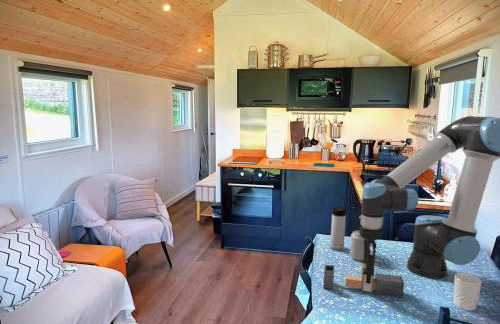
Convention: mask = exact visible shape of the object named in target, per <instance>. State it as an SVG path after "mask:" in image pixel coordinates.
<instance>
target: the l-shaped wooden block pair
mask: <svg viewBox="0 0 500 324" xmlns="http://www.w3.org/2000/svg"><path fill="white" fill-rule="evenodd" d="M365 267H366V264H365V263H363V262H362V263H361V273H360V276H357V275H356V276H355V275H349V274H348V275H347V274H346V275H345V287H347V288H355V289H360V291H361V292H366V293H374V291H375V290H376V285H377V279H375V274H374V275H373V276H372V289H371V292H370V291H363V286H364V274H363V272H365ZM375 271H376V269H375V268H374V272H375Z"/></svg>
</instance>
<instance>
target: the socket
mask: <svg viewBox="0 0 500 324" xmlns="http://www.w3.org/2000/svg"><path fill="white" fill-rule="evenodd" d="M323 268H324V269H323V271H324V273H323V289H324V290H332V291H333V290H334V283H335V281H334V279H335V265H334V264H324V267H323Z"/></svg>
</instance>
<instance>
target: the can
mask: <svg viewBox="0 0 500 324" xmlns="http://www.w3.org/2000/svg"><path fill="white" fill-rule="evenodd" d="M364 240H365V239H364V238H362V237H361V236H360V230H353V231H352V233H351V234H350V246H349V247H350V248H349V257H350V258H351V259H352V260H354V261H358V262H363V259H364Z"/></svg>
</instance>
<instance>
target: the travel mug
mask: <svg viewBox="0 0 500 324" xmlns="http://www.w3.org/2000/svg"><path fill="white" fill-rule="evenodd" d="M331 211H332V214H331V215H332V216H331V228H330V229H331V230H330V243H329V244H330V247H329V248H330V249H331V250H332V251H336V252H337V251H338V252H340V251H343V250H344V249H345V235H346V220H347V218H346V217H347V214H346V213H347V211H348V208H347V207H343V206H342V207H341V206H340V207H339V206H337V207H333V209H332V210H331Z"/></svg>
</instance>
